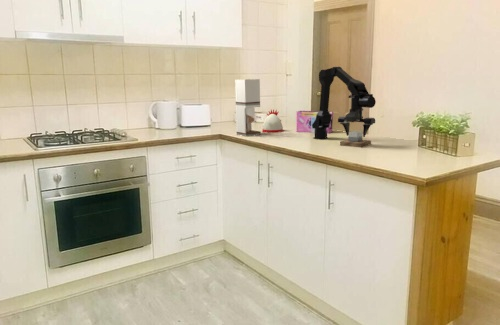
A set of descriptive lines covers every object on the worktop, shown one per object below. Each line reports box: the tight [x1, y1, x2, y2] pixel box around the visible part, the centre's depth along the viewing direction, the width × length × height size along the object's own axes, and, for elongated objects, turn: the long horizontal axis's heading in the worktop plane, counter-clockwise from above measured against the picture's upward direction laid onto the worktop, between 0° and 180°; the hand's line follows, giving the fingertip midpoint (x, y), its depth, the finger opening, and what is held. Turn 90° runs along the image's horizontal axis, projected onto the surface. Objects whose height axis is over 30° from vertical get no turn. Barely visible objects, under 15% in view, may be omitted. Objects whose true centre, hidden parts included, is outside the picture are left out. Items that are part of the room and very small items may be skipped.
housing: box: [348, 130, 363, 142], centre depth 219 cm, size 5×6×5 cm
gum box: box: [296, 110, 334, 134], centre depth 271 cm, size 24×8×14 cm, turn 60°
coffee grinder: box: [234, 78, 262, 137], centre depth 262 cm, size 11×11×35 cm
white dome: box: [262, 109, 284, 134], centre depth 279 cm, size 14×14×15 cm
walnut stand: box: [339, 138, 372, 148], centre depth 219 cm, size 12×12×2 cm
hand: (355, 136), depth 219 cm, fingers open, 9 cm apart
